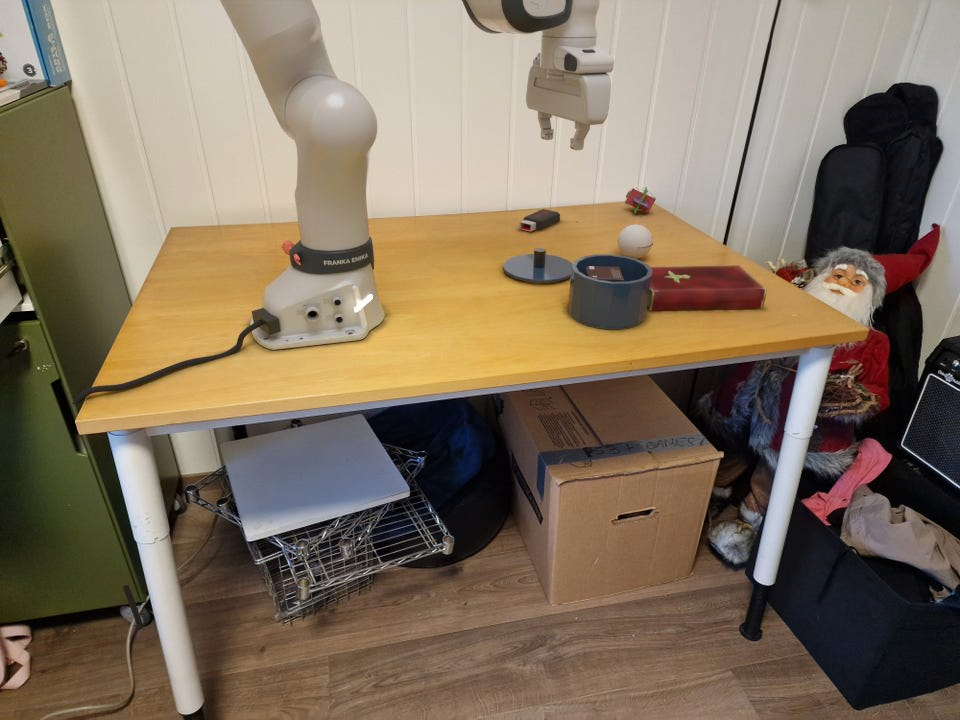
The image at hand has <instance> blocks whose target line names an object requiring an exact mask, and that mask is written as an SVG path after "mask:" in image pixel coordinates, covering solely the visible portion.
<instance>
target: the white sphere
mask: <svg viewBox="0 0 960 720" xmlns="http://www.w3.org/2000/svg"><path fill="white" fill-rule="evenodd" d="M654 237H656V235H654V236H652V233H651V232H650V230H649V229H648V228H647V227H646V226H645V225H642V224H637V223H635V224H634V223H633V224H630V225H627V226H626V227H625V228H623V229H622V230H620V232H619V234H618V237H617V242H616V243H617V248H618V250H619V252H620V253H621V254H622V256H626V257H630V258H634V259H637V260H639V259H642V258H644V256H646V255H648V254H649V252H650V251H651V248H652V246H654V243H653V238H654Z"/></svg>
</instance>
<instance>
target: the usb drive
mask: <svg viewBox="0 0 960 720" xmlns="http://www.w3.org/2000/svg"><path fill="white" fill-rule="evenodd" d="M560 221H561V214H560V213H559V212H558V211H554V210H549V209H545V208H542V209H539V210H537V211H535V212H533V213H531V214H528V215H526V216H524V217H523V219H522V221H520V222H519V230H520V231H521V230H522V231H527V232H529V233H530V232H531V233H532V232H534V231H536V232H538V231H543V230H545V229H547V228H549V227H552V226H554V225H555V224H558V223H560Z"/></svg>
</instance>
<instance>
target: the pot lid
mask: <svg viewBox="0 0 960 720" xmlns="http://www.w3.org/2000/svg"><path fill="white" fill-rule="evenodd" d="M573 263H574V262H572V261H570V260H568V259H566V258H564V257H562V256H558V255H554V254H553V255H552V254H548V253H547V249H546V248H543V247H536V248H534V249H533V253H526V254H525V253H524V254H518V255H515V256H512V257H509V258H508V259H506V260H505V261H504V263H503V265H502V266H503V267H502V269H503V271H504V272H505V274H507V276H509V277H511V278H513V279H516V280H519V281H524V282H528V283H529V282H530V283H545V284H546V283H548V284H549V283H556V282H561V281H564V280H567V279H570V278H571V267H572V265H573Z"/></svg>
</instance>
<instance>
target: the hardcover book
mask: <svg viewBox="0 0 960 720" xmlns="http://www.w3.org/2000/svg"><path fill="white" fill-rule="evenodd" d="M650 268H651V269H652V270H653V273H652V279H651V286H650V292H649V299H648V306H647V312H671V311H672V312H673V311H674V312H676V311H677V312H678V311H681V312H683V311H720V310H722V311H723V310H724V311H725V310H727V311H729V310H762V309H763V308H764V305H765V301H766V297H767V292H768V291H767V288H766V286H764V285H763V284H762V283H761V282H760V281H758V280H757V279H756V278H755V277H754V276H753V275H752V274H750V273H749V272H748V271H747V270H746V269H744V268H743V267H742V266H741V265H739V264H736V265H734V264H733V265H729V264H728V265H678V266H675V265H674V266H673V265H672V266H671V265H669V266H650Z"/></svg>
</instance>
